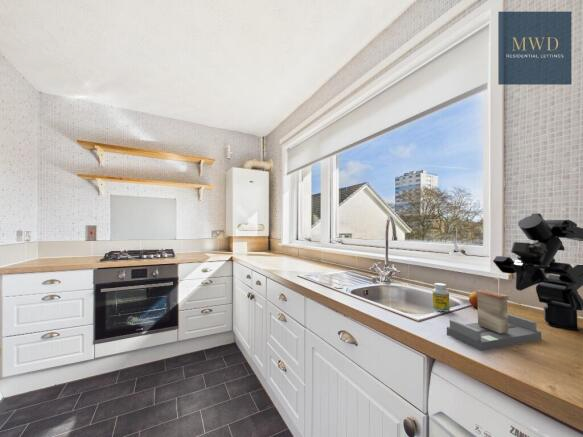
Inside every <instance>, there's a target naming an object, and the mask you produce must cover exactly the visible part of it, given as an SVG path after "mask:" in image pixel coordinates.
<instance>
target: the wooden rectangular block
mask: <svg viewBox="0 0 583 437" xmlns="http://www.w3.org/2000/svg"><path fill="white" fill-rule="evenodd" d="M478 290H479V291H478ZM478 290H475V291H476V294H477V302H478V308H477V323H478V325H479V326H482V327H484V328H487V329H490V330H492V331H495V332H497V333H500V334H501V333H507V332H508V314H509V312H508V310H509V309H508V301H509V295H507V294H502V293H498V292H495V291H491V290H487V289H478Z"/></svg>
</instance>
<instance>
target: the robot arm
mask: <svg viewBox="0 0 583 437" xmlns="http://www.w3.org/2000/svg"><path fill="white" fill-rule="evenodd" d="M517 225H518V227H519V229H520V230H521V231H522V232H523V234H524V235H525V237H527V239H528V240H530V241H533V242H532V243H531V242H522V241H521V242H519V241H514V242H513V243H512V245H511V249H510V252H511V253H512V254H514V255H516V256H517V257H516V258H517V260H513V258H511V257H510V256H502V255H496V256H495V258H494V259H493V260H492V261H493V263H494V265H495V266H496V267H497V268H498V269H499V270H500V272H502V273H503V274H511V275H514V274H516V277H515V278H516V279H515V289H516V290H517V291H520V292H521V291H523V290H525V289H527V288H530V287H532V286H535V285H536V287H535V291H536V295H537V299H538V301H539V303H544V304H545V306H543V320H544V321H545V323H547V325H548V326H550V327H555V328H556V327H557V328H563V329H567V330H568V329H569V330H574V331H580V330H581V328H579V326H578V311H580V312H581V311H583V298H582V296H581V295H580V294H579V292H578V290H579V289H580V288H581V287H583V265H578V264H577V265H575V266H572V265H571V264H570V263H567V262H557V261H556V259H555V256H556V254H557V253H558V251H565V246H564V245H563V242H562V240H561V239H568V240H573V241H576V240H577V242H581V241H583V227H580V226H578V224H577V223H576V222H575V221H572V220H570V219H551V220H550V219H548V220H546V219H544V217H543V216H542V214H541V213H538V212H537V213H531V215H528V216H526V217H524V218H522V219H520V220H518V223H517Z"/></svg>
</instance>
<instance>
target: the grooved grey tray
mask: <svg viewBox="0 0 583 437" xmlns="http://www.w3.org/2000/svg"><path fill="white" fill-rule="evenodd" d="M446 335H448V336H450V337H451V338H455V339H456V340H458V341H460V342H463V343H465V344H467V345H469V346H470V347H473V348H475V349H477V350H479V351H486V350H492V349H498V348H503V347H509V346H514V345H515V346H516V345H519V344H524V343H531V342H536V341H541V340H542V339H543V338H542V337H543V336H542V331H538V330H537V322H536V321H533V320H530V319H527V318H523V317H521V316H517V315H514V314H510V313H508V332H507V333H501V334H500V333H497V332H495V331H492V330H490V329H487V328H484V327H482V326H479V325H478V322H474V323H466V324H465V323H462V322H461V321H457V320H455V319H449V326H446Z"/></svg>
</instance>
